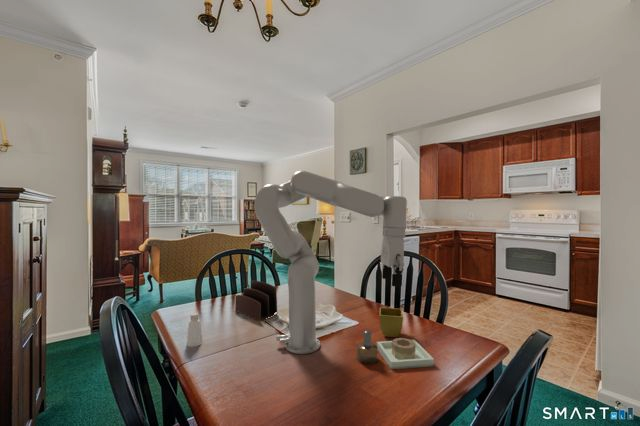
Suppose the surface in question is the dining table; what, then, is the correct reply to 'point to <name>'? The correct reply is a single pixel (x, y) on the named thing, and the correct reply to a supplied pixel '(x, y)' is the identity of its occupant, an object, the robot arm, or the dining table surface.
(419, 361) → the tray
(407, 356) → the birch ring
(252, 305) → the letter holder
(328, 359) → the dining table surface
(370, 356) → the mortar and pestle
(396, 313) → the flower pot
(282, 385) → the dining table surface
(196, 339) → the salt shaker
